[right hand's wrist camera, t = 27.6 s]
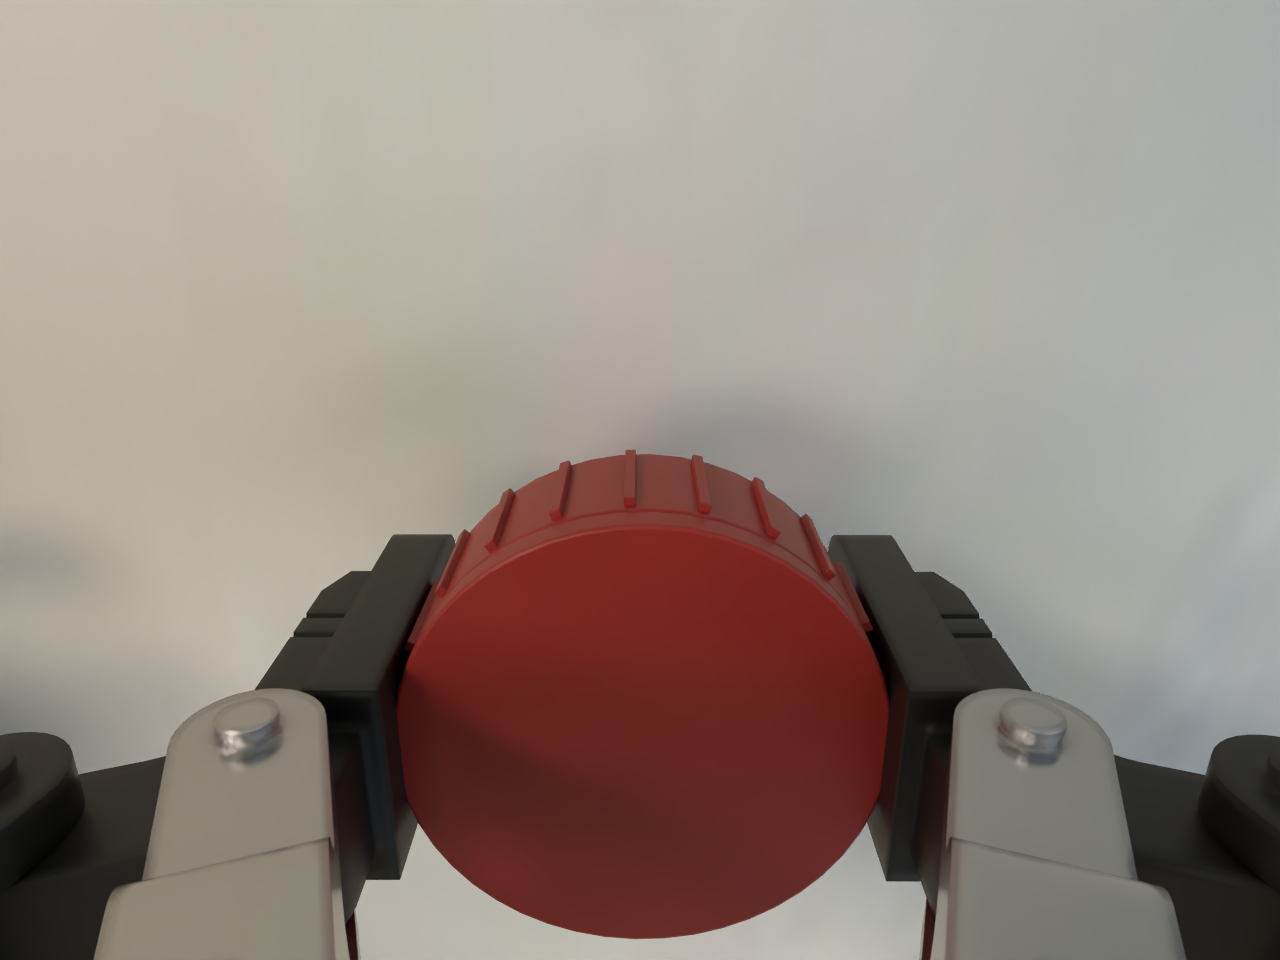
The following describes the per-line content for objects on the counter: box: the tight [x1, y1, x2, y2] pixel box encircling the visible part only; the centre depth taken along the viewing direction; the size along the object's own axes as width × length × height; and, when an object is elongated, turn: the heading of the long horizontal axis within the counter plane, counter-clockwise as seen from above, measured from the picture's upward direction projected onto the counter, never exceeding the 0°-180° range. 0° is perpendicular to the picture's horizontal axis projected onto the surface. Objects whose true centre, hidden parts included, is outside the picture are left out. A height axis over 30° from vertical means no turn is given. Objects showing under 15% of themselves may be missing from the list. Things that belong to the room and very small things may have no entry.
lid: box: [396, 450, 890, 939], centre depth 10 cm, size 5×5×2 cm
